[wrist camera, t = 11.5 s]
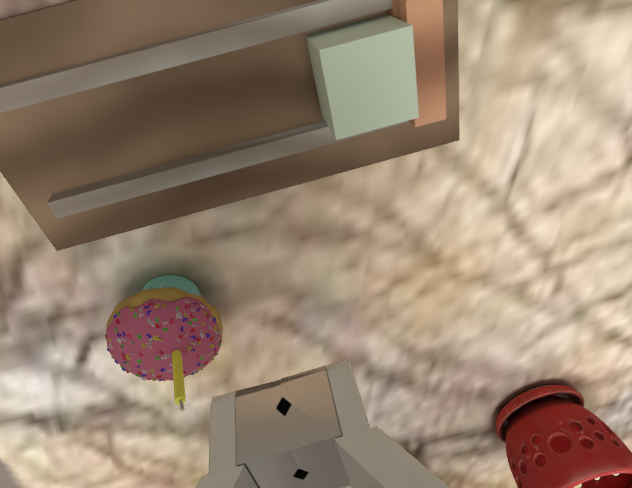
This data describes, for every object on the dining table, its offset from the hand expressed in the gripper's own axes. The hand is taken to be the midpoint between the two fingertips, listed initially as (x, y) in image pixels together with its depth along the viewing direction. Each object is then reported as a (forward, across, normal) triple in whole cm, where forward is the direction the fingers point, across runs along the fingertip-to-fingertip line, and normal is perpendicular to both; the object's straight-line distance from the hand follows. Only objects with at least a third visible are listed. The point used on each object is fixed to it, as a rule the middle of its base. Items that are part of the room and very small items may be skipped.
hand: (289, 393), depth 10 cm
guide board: (+24, +1, 0) cm, 24 cm away
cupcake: (+24, +11, +15) cm, 30 cm away
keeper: (+22, -7, 0) cm, 23 cm away
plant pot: (+24, -24, +49) cm, 60 cm away
